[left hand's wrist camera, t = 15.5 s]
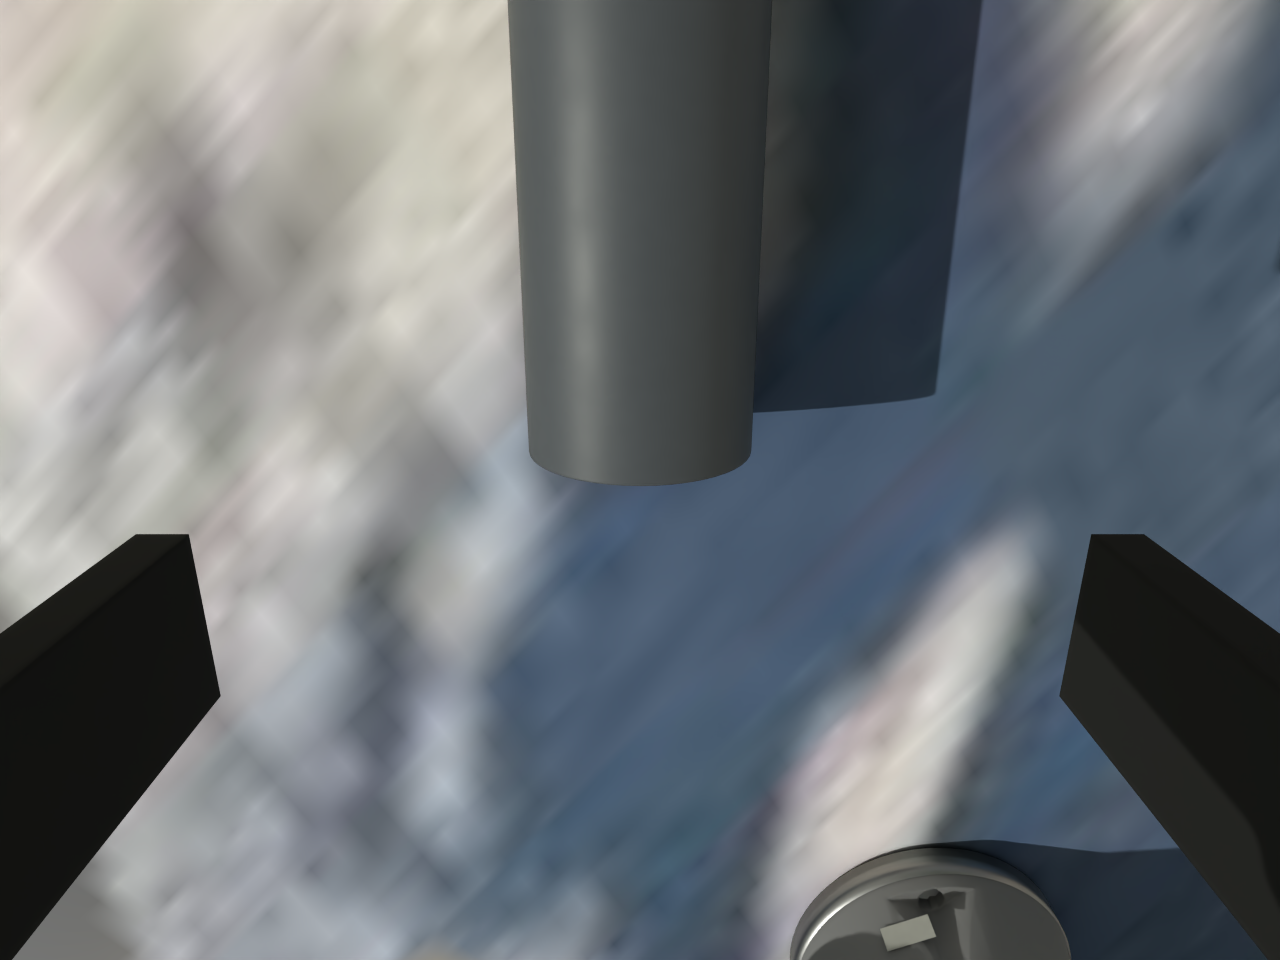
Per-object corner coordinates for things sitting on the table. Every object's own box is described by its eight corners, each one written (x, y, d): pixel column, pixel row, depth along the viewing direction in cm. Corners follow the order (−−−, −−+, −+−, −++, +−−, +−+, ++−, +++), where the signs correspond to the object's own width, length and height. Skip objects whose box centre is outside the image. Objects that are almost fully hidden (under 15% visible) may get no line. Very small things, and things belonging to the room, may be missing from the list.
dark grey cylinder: (738, 417, 39) (765, 486, 30) (541, 417, 39) (515, 486, 30) (765, -263, 30) (814, -426, 22) (513, -263, 30) (465, -427, 22)
